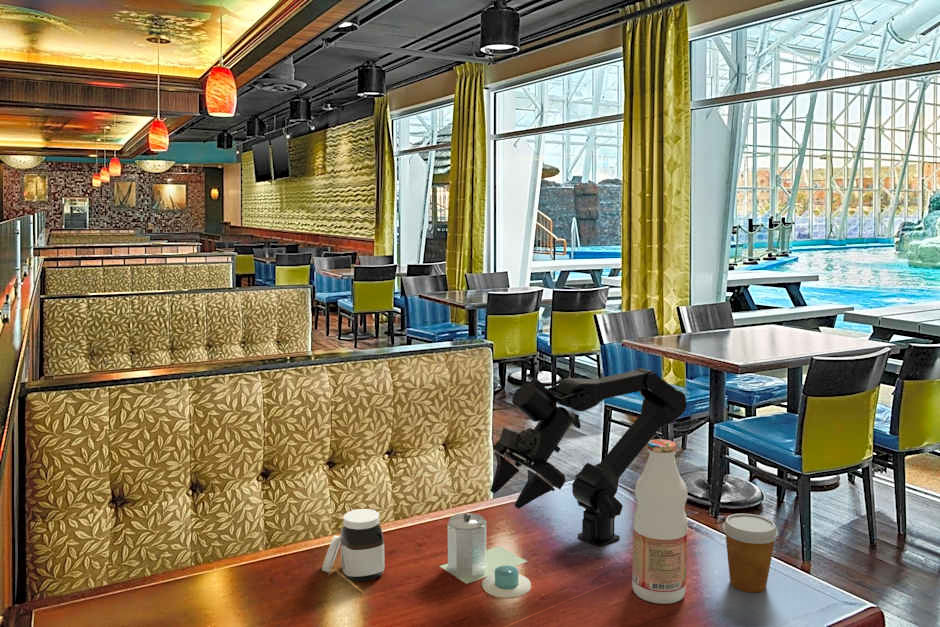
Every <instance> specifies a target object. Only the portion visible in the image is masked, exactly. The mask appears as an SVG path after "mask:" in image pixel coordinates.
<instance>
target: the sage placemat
mask: <svg viewBox="0 0 940 627" xmlns="http://www.w3.org/2000/svg"><path fill="white" fill-rule="evenodd" d="M486 556H487V567H486V571H485V574H484V575H481V576H478V577H475V578H473V579H470V578H457V579H458V580H460V581H461V582H463V583H465V584H466V585H469V584H470V583H473V582H476V581H478V580H481V579H485V578H486V577H488V576H490V575H492V574H495V569H496V568H497V567H499V566H505V565H507V566H513V567H517V566H519V565H522V564H525V563H528V562H529V561H528V560H526V559H525V558H522V557H520V556H518V555H516V554H515V553H513V552H511V551H510V550H507V549H506V548H504V547H502V546H501V545H498V546H495V547H492V548H489V549H486ZM439 568H441V569H443V570H445V571H446V572H447V573H449V572H448V562H447V563H445V564H442V565H439Z"/></svg>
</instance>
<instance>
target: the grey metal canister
mask: <svg viewBox="0 0 940 627" xmlns="http://www.w3.org/2000/svg"><path fill="white" fill-rule="evenodd" d="M448 519H449V520H448V523H447V526H446V527H447V563H448V572H447V573H449V574H451V575H452V576H453V577H455V578H456V579H458V578H470V579H473V578H475V577H478V576H481V575H484V574H485V571H486V567H487V556H486V550H487V520H486V518H485V517H484V516H482V515H480V514H478V513H472V512H462V513H457V514H455V515H451V516H450V517H449V518H448Z"/></svg>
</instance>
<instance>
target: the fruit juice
mask: <svg viewBox="0 0 940 627" xmlns="http://www.w3.org/2000/svg"><path fill="white" fill-rule="evenodd" d="M647 452H648V453H649V455H648V458H647V460H646V463H645V467H644V469H643V471H642V473H641V475H640V476H639V477H638V479H637V480H636V482H635V486H634V487H635V488H634V494H635V499H636V504H637V505H636V508H635V510H634V513H633V514H634V515H633V522H632V523H633V524H632V525H633V527H632V529H633V530H632V571H631V572H632V577H631V578H632V579H631V584H632V590H633V592H634V594H635V595H636V596H637V597H638V598H640V599H642V600H644V601H646V602H650V603H653V604H660V605H668V604H669V605H670V604H674V603H677V602H679V601H681V600H683V598H684V597H685V593H686V586H687V584H686V583H687V552H688V551H687V548H688V546H687V545H688V544H687V543H688V518H687V513H686V511H685V506H686V503H687V500H688V488H687V484H686V483H685V481H684V479H683V477H682V476H681V474H680V472H679V469H678V465H677V462H676V458H675V454H676V453H677V444H676V442H675V441H672V440H670V439H669V440H668V439H661V438H659V439H658V438H656V439H650V441H649V442H648V443H647Z"/></svg>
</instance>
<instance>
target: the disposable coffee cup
mask: <svg viewBox="0 0 940 627" xmlns="http://www.w3.org/2000/svg"><path fill="white" fill-rule="evenodd" d="M722 530H723V531H724V533H725V542H726V553H727V562H728V574H729V583H730V585H731V586H732V587H733V588H734V589H737V590H739V591H742V592H747V593H760V592H763V591H765V590H766V588H767V584H768V578H769V573H770V568H771V561H772V557H773V551H774V547H775V541H776V539H777V537H778V536H779V531H778V529H777V525H776V523H775V522H774V521H773V520H771V519H769V518H767V517H765V516H762V515H759V514H754V513H753V514H752V513H734V514H730V515H728V516H726V518H725V521H724V523H723V524H722Z"/></svg>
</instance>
